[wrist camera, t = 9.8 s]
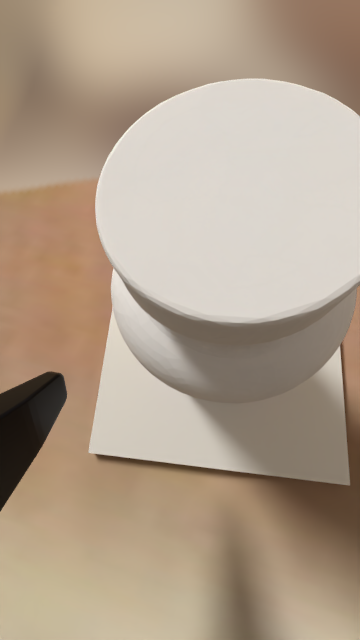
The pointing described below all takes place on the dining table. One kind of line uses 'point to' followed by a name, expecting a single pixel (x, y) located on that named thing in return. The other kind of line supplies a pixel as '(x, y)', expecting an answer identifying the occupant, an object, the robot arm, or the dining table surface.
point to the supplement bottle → (234, 236)
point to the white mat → (221, 423)
